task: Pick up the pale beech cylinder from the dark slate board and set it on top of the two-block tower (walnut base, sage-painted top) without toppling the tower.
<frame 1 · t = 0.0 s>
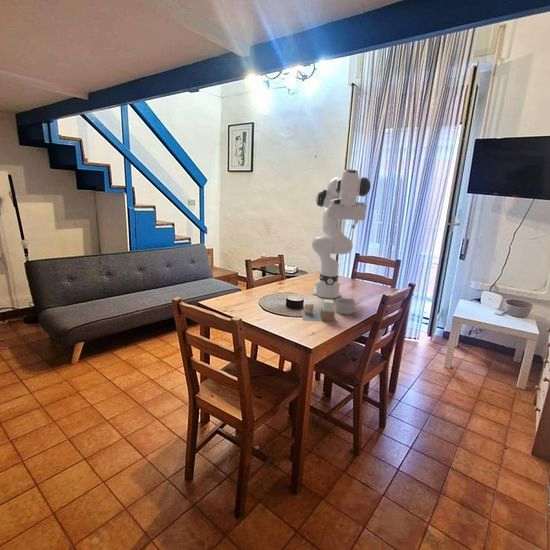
hand: (344, 227, 176), 48 cm above the table, fingers open, 8 cm apart
slate board: (318, 318, 177), on the table
sage top block: (327, 310, 173), point 6 cm above the table, touching walnut base block
teacup: (345, 313, 187), on the table
walnut base block: (326, 318, 174), point 1 cm above the table, touching sage top block, slate board
beech cylinder: (308, 313, 181), point 1 cm above the table, touching slate board
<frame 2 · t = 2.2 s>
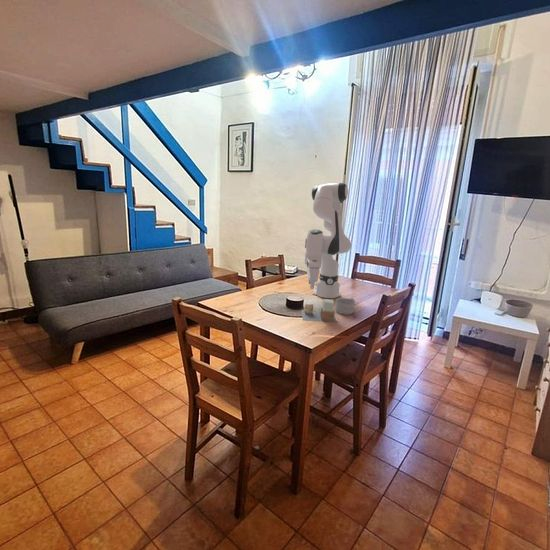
hand: (310, 286, 176), 17 cm above the table, fingers open, 8 cm apart
nothing on the table moved.
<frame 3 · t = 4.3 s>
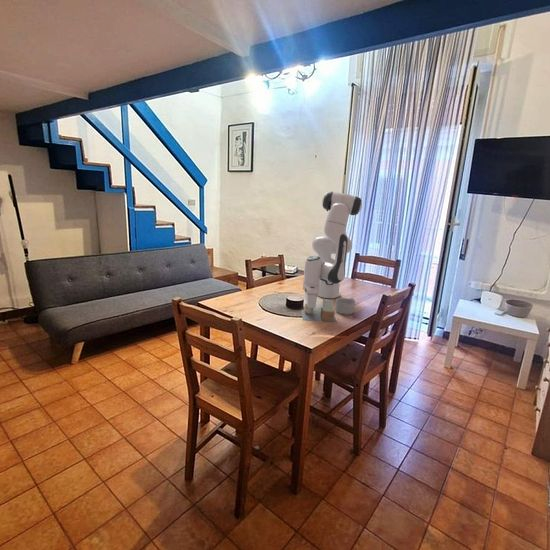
hand: (308, 310, 180), 3 cm above the table, fingers closed on beech cylinder, 4 cm apart
beech cylinder: (308, 313, 181), point 1 cm above the table, touching gripper, slate board
everything else where it was.
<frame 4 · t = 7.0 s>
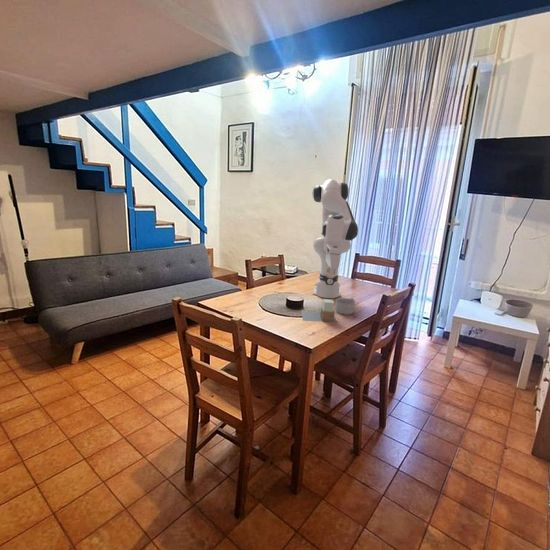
hand: (330, 274, 168), 25 cm above the table, fingers closed on beech cylinder, 4 cm apart
beech cylinder: (330, 277, 168), point 24 cm above the table, touching gripper
everything else where it was.
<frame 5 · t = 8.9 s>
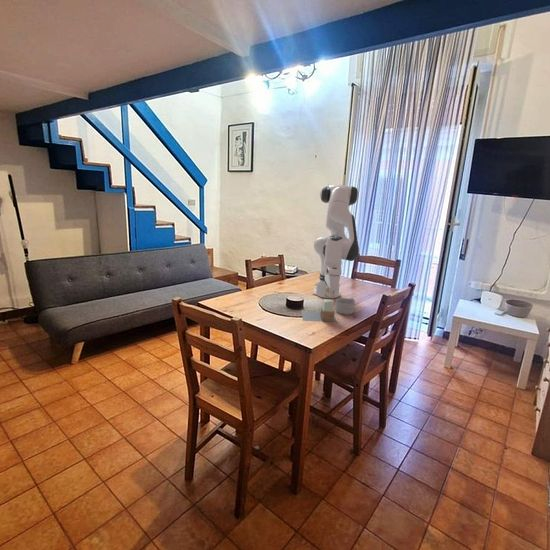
hand: (329, 293, 170), 15 cm above the table, fingers closed on beech cylinder, 4 cm apart
beech cylinder: (329, 296, 171), point 13 cm above the table, touching gripper
everything else where it was.
when the fingers open (14 cm above the table, at t = 10.0 s): beech cylinder drops 1 cm, resting on sage top block.
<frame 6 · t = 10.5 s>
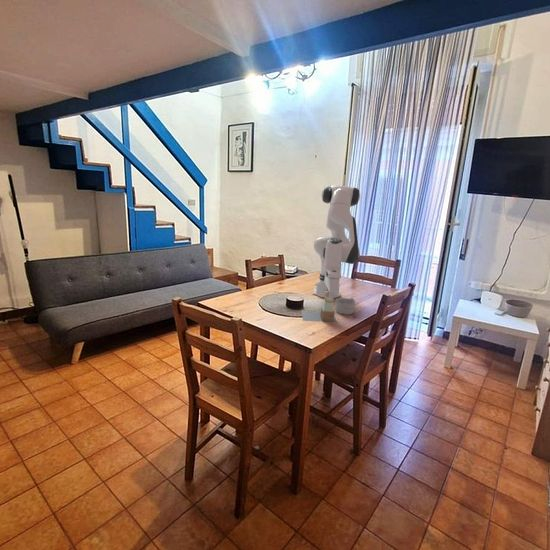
hand: (329, 296, 171), 14 cm above the table, fingers open, 8 cm apart
sage top block: (327, 310, 173), point 6 cm above the table, touching beech cylinder, walnut base block
beech cylinder: (328, 301, 171), point 11 cm above the table, touching sage top block
everything else where it was.
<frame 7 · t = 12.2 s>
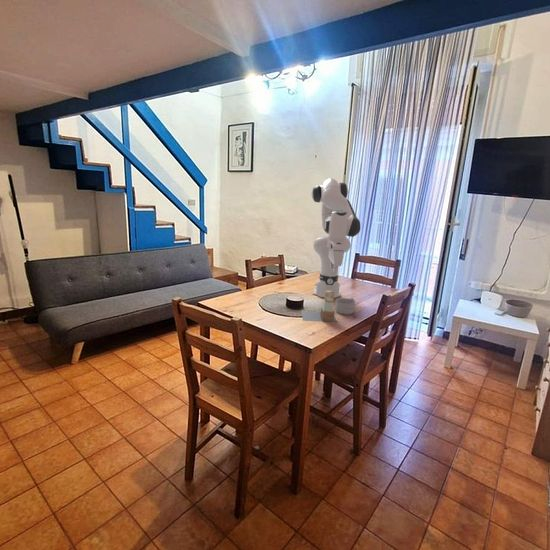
hand: (333, 270, 168), 27 cm above the table, fingers open, 8 cm apart
nothing on the table moved.
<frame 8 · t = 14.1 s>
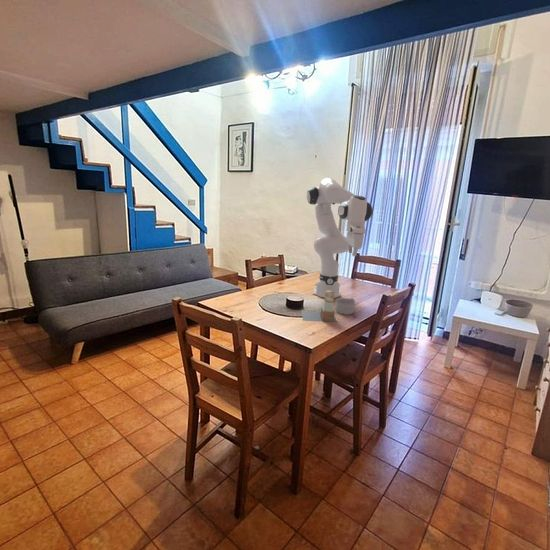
hand: (352, 254, 172), 35 cm above the table, fingers open, 8 cm apart
nothing on the table moved.
at the end: beech cylinder 0.0 cm off-centre on the sage top block, point 5.0 cm above the sage top block's base; sage top block tilted 0°; sage top block 0.0 cm off-centre on the walnut base block, point 5.0 cm above the walnut base block's base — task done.
